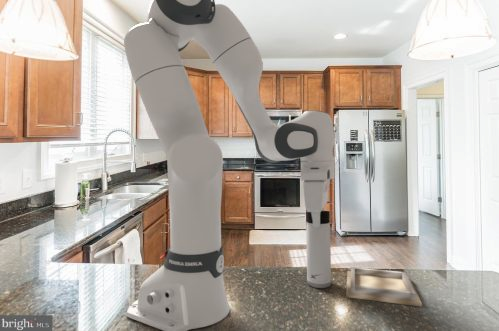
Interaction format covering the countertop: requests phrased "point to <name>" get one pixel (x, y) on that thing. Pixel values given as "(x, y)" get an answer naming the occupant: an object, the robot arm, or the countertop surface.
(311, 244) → the travel mug
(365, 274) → the square metal tray
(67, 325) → the countertop surface
